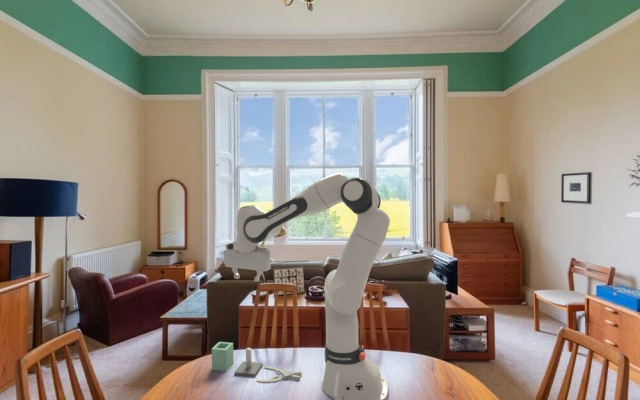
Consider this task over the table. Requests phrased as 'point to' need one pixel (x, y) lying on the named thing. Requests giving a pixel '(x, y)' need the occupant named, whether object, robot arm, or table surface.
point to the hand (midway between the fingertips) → (246, 279)
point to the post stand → (248, 366)
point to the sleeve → (222, 356)
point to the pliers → (289, 375)
